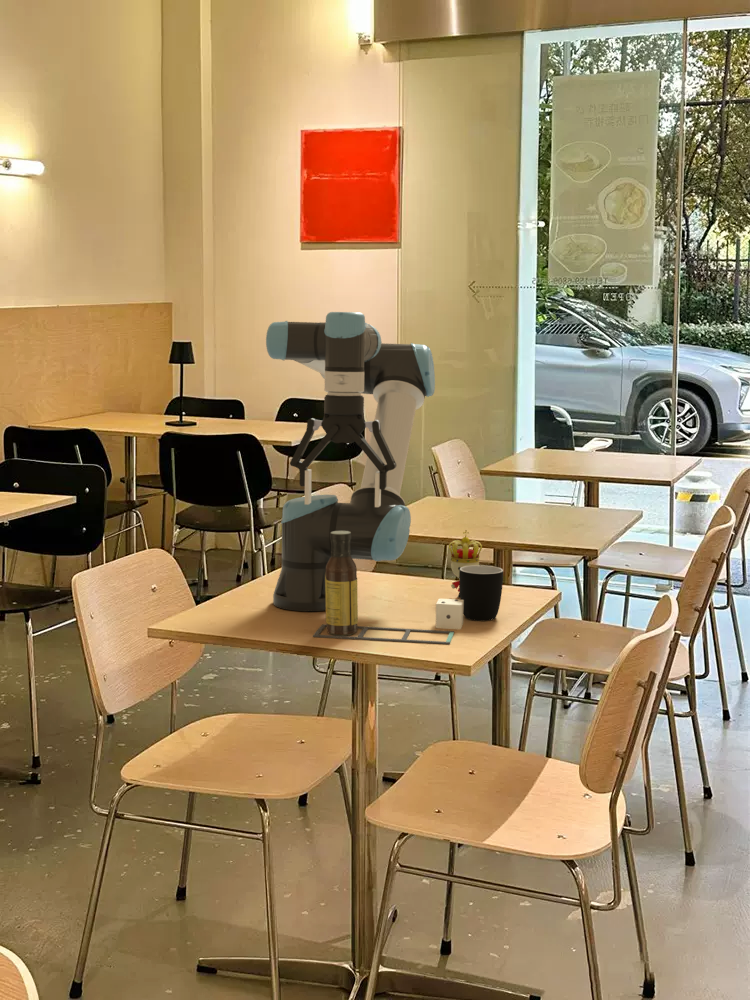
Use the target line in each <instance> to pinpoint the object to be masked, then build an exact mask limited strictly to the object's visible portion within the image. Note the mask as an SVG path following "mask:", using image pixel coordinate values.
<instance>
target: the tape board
mask: <svg viewBox="0 0 750 1000" xmlns="http://www.w3.org/2000/svg"><path fill="white" fill-rule="evenodd" d="M325 628H327V623H326V624H325V623H323V624H321V625H320V626H319V628H318V629H317V630H316V631H315V632H314V633H313V635H312V638H322V639H323V638H325V639H326V638H327V639H345V640H360V641H361V640H362V641H363V640H364V641H379V642H380V641H381V642H383V641H384V642H398V643H417V644H432V645H433V644H436V645H451V642H452V639H453V636H454V634H455V631H453V630H439V629H438V630H436V629H421V628H420V629H418V628H402V627H401V628H400V627H398V628H397V627H382V626H366V625H365V626H360V625H357V630H359V629H360V630H361V631H360V632H359V634H357V636H351V635H345V636H338V635H332V634H329V635H328V634H321V633H322V632H323V631H324V630H325ZM368 630H377V631H378V630H379V631H380V630H381V631H396V632H397V631H399V632H404V634H403V636H402V637H401V638H388V637H387V638H386V637H367V636H365V637H364V635H365V634H366V632H367V631H368ZM412 632H417V633H418V632H419V633H431V634H432V633H436V634H448V636H447V638H446V640H445V641H439V640H423V639H421V640H420V639H408V637H409V635H410V633H412Z"/></svg>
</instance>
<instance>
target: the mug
mask: <svg viewBox="0 0 750 1000" xmlns="http://www.w3.org/2000/svg"><path fill="white" fill-rule="evenodd" d="M458 579H459V580H458V581H459V586H458V589H459V590H460V597H459V598H460V600H464V604H463V617H464V618H465V619H467V620H468V621H469V620H470V621H475V622H488V621H489V622H490V621H493V620H495V619H496V617H497V616H498V613H499V611H500V605H501V600H502V592H503V585H504V584H503V583H504V570H503V568H501V567H498V566H492V565H480V564H479V565H472V566H464V567H461V568H460V571H459V578H458Z"/></svg>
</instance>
